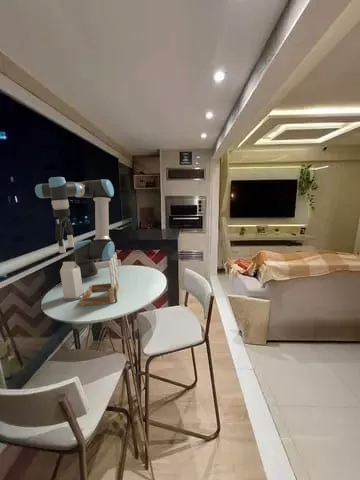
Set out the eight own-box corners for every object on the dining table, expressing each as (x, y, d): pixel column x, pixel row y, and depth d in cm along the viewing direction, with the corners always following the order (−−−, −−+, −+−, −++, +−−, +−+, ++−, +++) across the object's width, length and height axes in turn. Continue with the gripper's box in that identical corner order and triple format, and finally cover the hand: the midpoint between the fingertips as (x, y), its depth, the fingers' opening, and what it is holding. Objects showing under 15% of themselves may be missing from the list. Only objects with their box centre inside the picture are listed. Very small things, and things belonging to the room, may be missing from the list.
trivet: (67, 294, 143) (66, 293, 143) (87, 292, 144) (87, 291, 144) (59, 302, 133) (59, 301, 132) (81, 300, 133) (81, 299, 133)
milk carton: (76, 298, 134) (71, 263, 131) (64, 298, 136) (58, 263, 132) (83, 293, 141) (78, 259, 138) (71, 293, 142) (66, 260, 139)
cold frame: (91, 290, 146) (86, 254, 142) (122, 287, 147) (118, 252, 144) (81, 306, 126) (75, 264, 122) (116, 302, 127) (112, 261, 124)
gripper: (62, 207, 142) (67, 245, 146) (42, 210, 117) (50, 255, 121) (76, 206, 142) (81, 244, 146) (59, 209, 118) (66, 254, 122)
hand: (67, 249), depth 134 cm, fingers open, 13 cm apart
